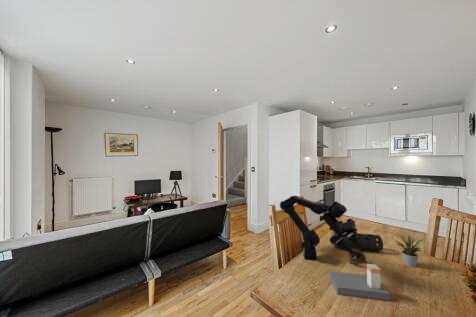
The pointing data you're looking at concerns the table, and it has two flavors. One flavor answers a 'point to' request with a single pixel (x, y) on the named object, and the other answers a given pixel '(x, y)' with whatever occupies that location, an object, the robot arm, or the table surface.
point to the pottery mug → (359, 257)
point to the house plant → (409, 251)
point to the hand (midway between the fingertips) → (357, 250)
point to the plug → (373, 276)
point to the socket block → (356, 286)
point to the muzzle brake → (366, 242)
